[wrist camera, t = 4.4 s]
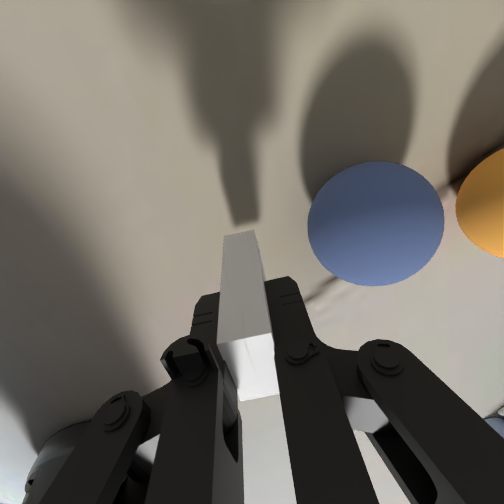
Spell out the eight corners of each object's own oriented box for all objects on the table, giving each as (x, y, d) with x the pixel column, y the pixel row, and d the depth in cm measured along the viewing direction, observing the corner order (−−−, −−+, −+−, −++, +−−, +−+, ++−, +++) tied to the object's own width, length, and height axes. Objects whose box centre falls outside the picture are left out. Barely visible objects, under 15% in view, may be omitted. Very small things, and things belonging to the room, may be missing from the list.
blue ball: (476, 298, 10) (412, 239, 15) (481, 149, 8) (404, 138, 13) (328, 323, 11) (315, 261, 16) (297, 201, 9) (293, 173, 14)
